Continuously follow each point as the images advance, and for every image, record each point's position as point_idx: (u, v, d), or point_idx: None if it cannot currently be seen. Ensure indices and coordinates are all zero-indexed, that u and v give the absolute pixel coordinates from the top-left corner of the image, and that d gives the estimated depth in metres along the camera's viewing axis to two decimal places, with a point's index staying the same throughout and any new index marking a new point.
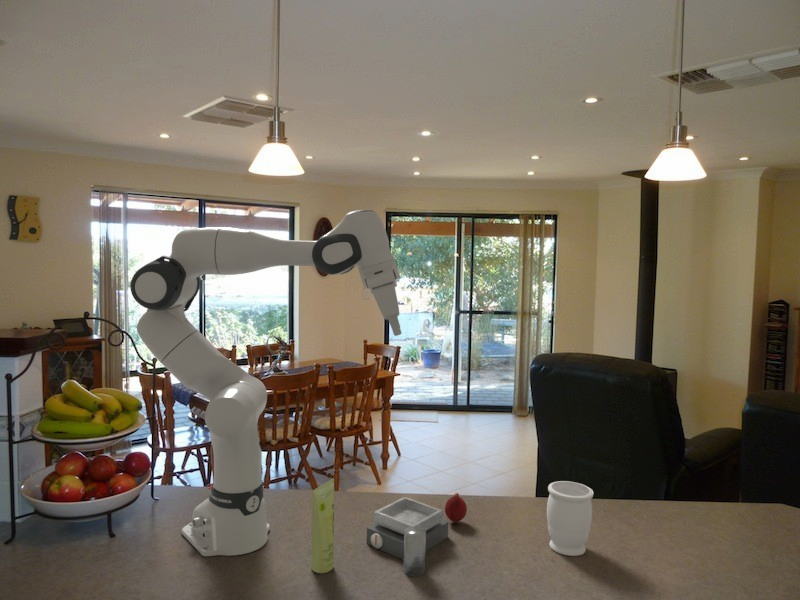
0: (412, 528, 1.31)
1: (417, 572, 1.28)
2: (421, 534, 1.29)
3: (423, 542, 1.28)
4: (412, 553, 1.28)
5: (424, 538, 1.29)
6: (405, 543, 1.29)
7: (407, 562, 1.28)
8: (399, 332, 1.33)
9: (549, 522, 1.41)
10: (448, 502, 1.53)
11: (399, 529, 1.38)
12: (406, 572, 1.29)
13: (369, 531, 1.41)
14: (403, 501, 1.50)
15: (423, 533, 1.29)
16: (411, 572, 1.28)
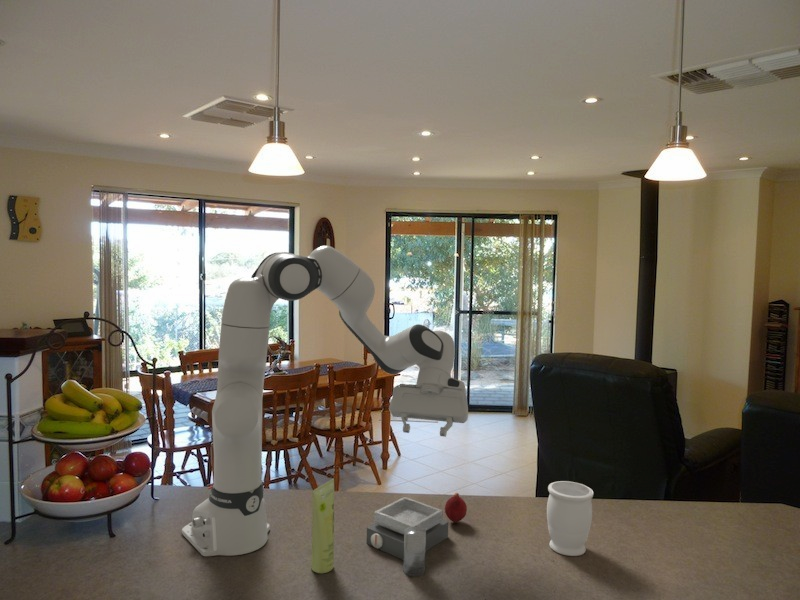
0: (412, 528, 1.31)
1: (417, 572, 1.28)
2: (421, 534, 1.29)
3: (423, 542, 1.28)
4: (412, 553, 1.28)
5: (424, 538, 1.29)
6: (405, 543, 1.29)
7: (407, 562, 1.28)
8: (446, 434, 1.45)
9: (549, 522, 1.41)
10: (448, 502, 1.53)
11: (399, 529, 1.38)
12: (406, 572, 1.29)
13: (369, 531, 1.41)
14: (403, 501, 1.50)
15: (423, 533, 1.29)
16: (411, 572, 1.28)
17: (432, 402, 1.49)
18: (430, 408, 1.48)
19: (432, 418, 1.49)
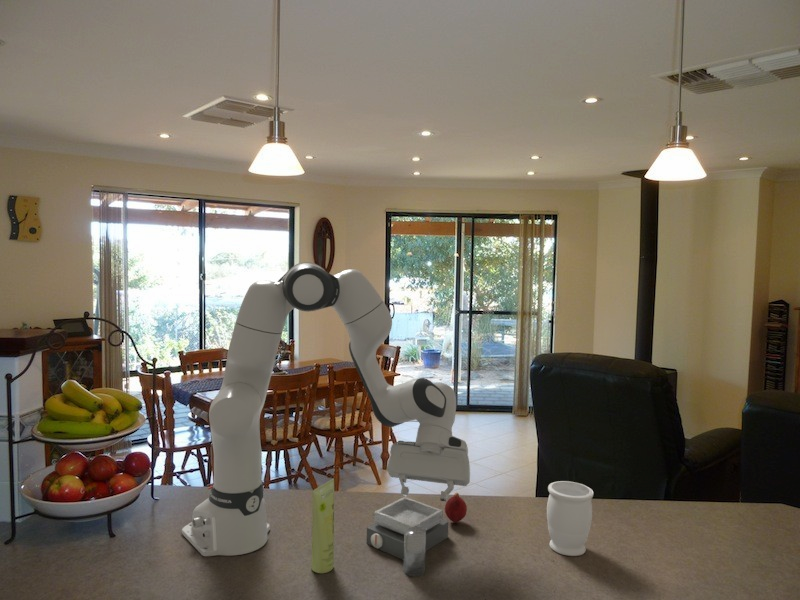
0: (412, 528, 1.31)
1: (417, 572, 1.28)
2: (421, 534, 1.29)
3: (423, 542, 1.28)
4: (412, 553, 1.28)
5: (424, 538, 1.29)
6: (405, 543, 1.29)
7: (407, 562, 1.28)
8: None
9: (549, 522, 1.41)
10: (448, 502, 1.53)
11: (399, 529, 1.38)
12: (406, 572, 1.29)
13: (369, 531, 1.41)
14: (403, 501, 1.50)
15: (423, 533, 1.29)
16: (411, 572, 1.28)
17: (433, 463, 1.41)
18: (430, 469, 1.40)
19: (432, 480, 1.41)
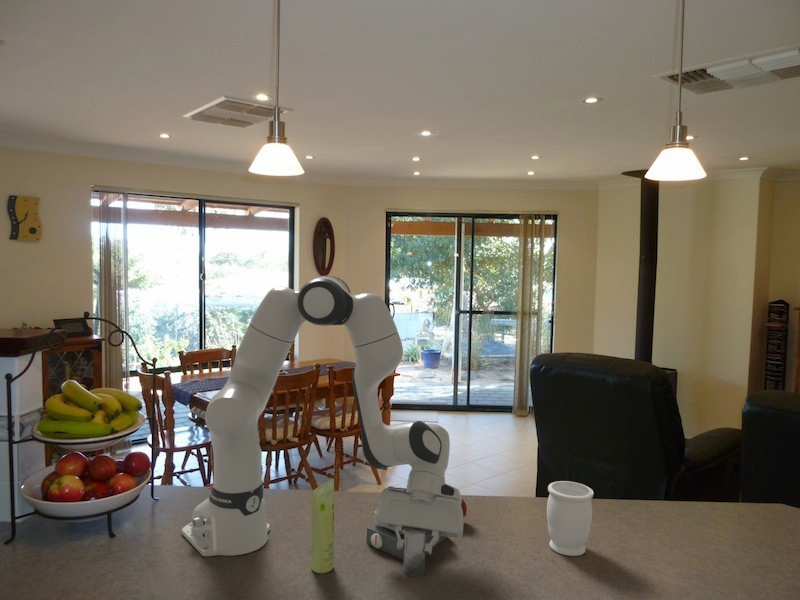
0: (412, 528, 1.31)
1: (417, 572, 1.28)
2: (421, 534, 1.29)
3: (423, 542, 1.28)
4: (412, 553, 1.28)
5: (424, 538, 1.29)
6: (405, 543, 1.29)
7: (407, 562, 1.28)
8: (431, 551, 1.29)
9: (549, 522, 1.41)
10: None
11: None
12: (406, 572, 1.29)
13: (369, 531, 1.41)
14: None
15: (423, 533, 1.29)
16: (411, 572, 1.28)
17: (424, 512, 1.33)
18: (420, 520, 1.32)
19: None
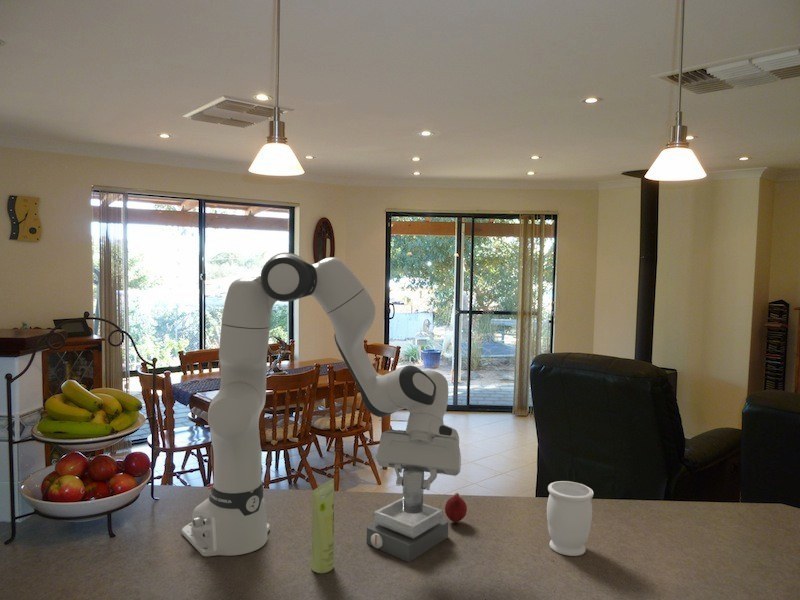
0: (411, 468, 1.36)
1: (415, 509, 1.32)
2: (419, 473, 1.33)
3: (421, 480, 1.33)
4: (410, 491, 1.32)
5: (422, 477, 1.33)
6: (404, 481, 1.33)
7: (406, 499, 1.33)
8: (429, 488, 1.33)
9: (549, 522, 1.41)
10: (448, 502, 1.53)
11: (399, 529, 1.38)
12: (405, 509, 1.33)
13: (369, 531, 1.41)
14: None
15: (421, 472, 1.33)
16: (409, 509, 1.32)
17: (422, 451, 1.37)
18: (419, 458, 1.36)
19: None
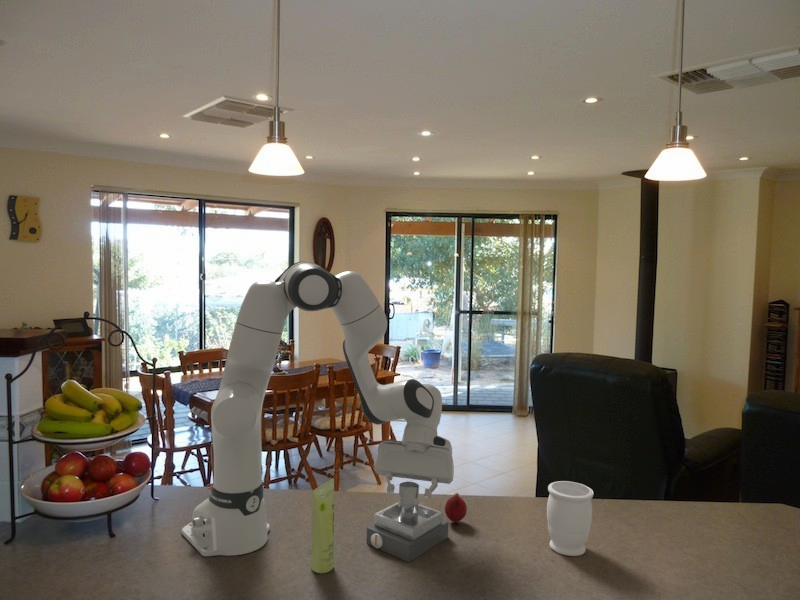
0: (406, 482, 1.45)
1: (411, 521, 1.42)
2: (415, 487, 1.42)
3: (416, 494, 1.42)
4: (406, 504, 1.41)
5: (417, 491, 1.42)
6: (400, 495, 1.42)
7: (402, 512, 1.42)
8: (430, 496, 1.42)
9: (549, 522, 1.41)
10: (448, 502, 1.53)
11: (399, 531, 1.38)
12: (401, 521, 1.42)
13: (369, 531, 1.41)
14: None
15: (416, 486, 1.43)
16: (405, 521, 1.42)
17: (418, 461, 1.46)
18: (415, 467, 1.45)
19: (417, 477, 1.46)
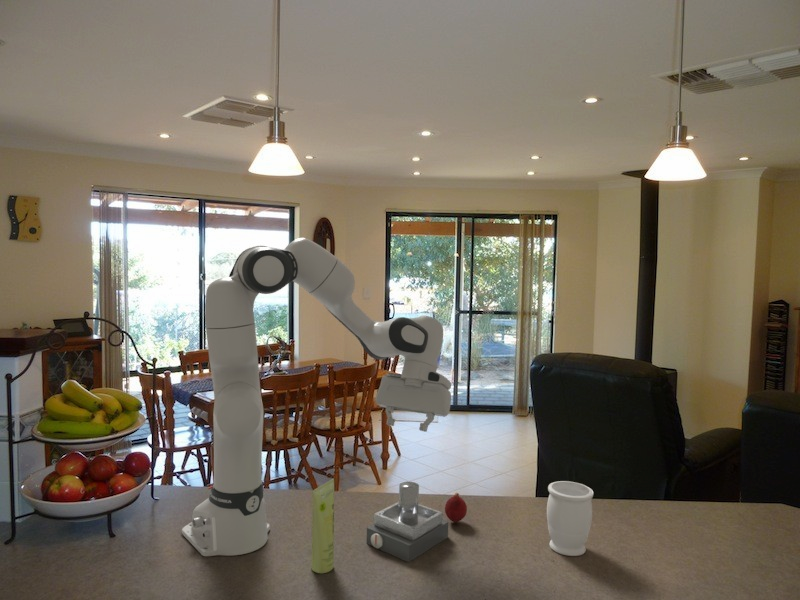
0: (406, 482, 1.45)
1: (411, 521, 1.42)
2: (415, 487, 1.42)
3: (416, 494, 1.42)
4: (406, 504, 1.41)
5: (417, 491, 1.42)
6: (400, 495, 1.42)
7: (402, 512, 1.42)
8: (426, 429, 1.48)
9: (549, 522, 1.41)
10: (448, 502, 1.53)
11: (399, 531, 1.38)
12: (401, 521, 1.42)
13: (369, 531, 1.41)
14: None
15: (416, 486, 1.43)
16: (405, 521, 1.42)
17: (414, 396, 1.50)
18: (411, 402, 1.50)
19: (416, 410, 1.52)
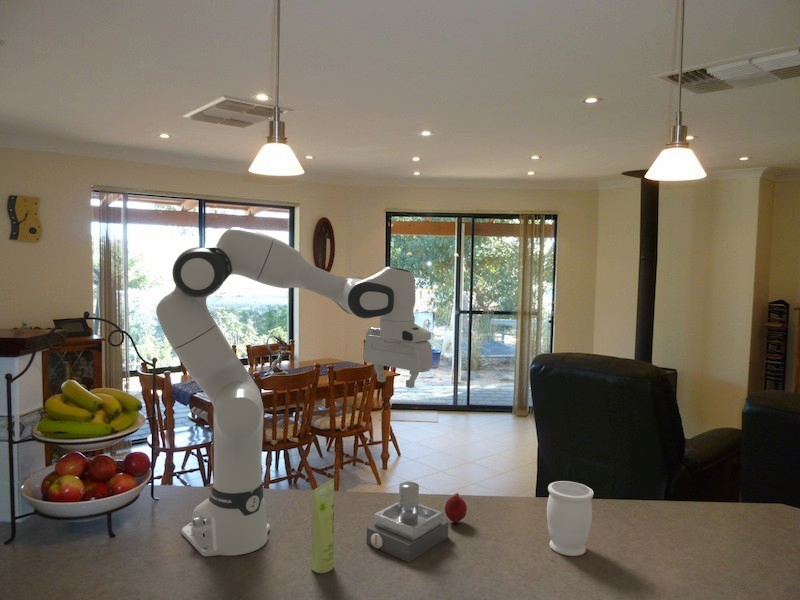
0: (406, 482, 1.45)
1: (411, 521, 1.42)
2: (415, 487, 1.42)
3: (416, 494, 1.42)
4: (406, 504, 1.41)
5: (417, 491, 1.42)
6: (400, 495, 1.42)
7: (402, 512, 1.42)
8: (413, 385, 1.47)
9: (549, 522, 1.41)
10: (448, 502, 1.53)
11: (399, 531, 1.38)
12: (401, 521, 1.42)
13: (369, 531, 1.41)
14: None
15: (416, 486, 1.43)
16: (405, 521, 1.42)
17: (395, 354, 1.47)
18: (393, 361, 1.47)
19: None
